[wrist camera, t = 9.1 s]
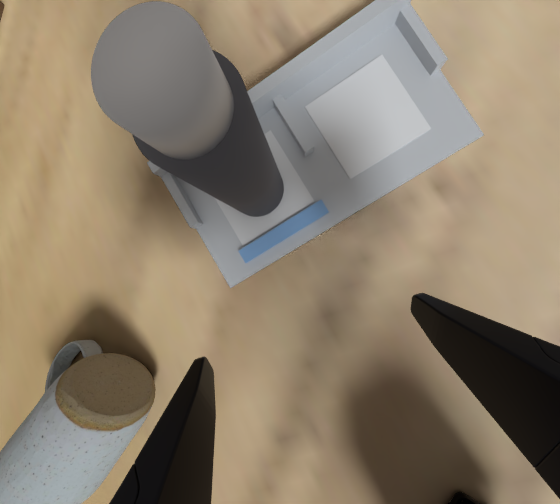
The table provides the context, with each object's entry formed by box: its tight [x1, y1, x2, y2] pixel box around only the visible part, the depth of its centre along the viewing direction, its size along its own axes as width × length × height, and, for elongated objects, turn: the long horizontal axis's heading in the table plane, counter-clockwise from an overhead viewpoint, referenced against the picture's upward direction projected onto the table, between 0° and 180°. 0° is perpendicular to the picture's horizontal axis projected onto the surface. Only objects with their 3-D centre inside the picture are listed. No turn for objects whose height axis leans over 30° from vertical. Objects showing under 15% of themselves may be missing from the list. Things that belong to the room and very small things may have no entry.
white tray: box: [147, 0, 484, 288], centre depth 18 cm, size 23×12×2 cm, turn 121°
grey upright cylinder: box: [91, 1, 284, 217], centre depth 13 cm, size 5×5×13 cm
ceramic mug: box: [0, 340, 155, 504], centre depth 18 cm, size 11×8×8 cm
